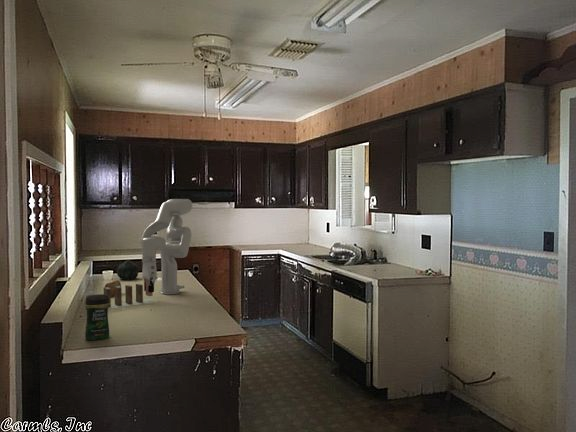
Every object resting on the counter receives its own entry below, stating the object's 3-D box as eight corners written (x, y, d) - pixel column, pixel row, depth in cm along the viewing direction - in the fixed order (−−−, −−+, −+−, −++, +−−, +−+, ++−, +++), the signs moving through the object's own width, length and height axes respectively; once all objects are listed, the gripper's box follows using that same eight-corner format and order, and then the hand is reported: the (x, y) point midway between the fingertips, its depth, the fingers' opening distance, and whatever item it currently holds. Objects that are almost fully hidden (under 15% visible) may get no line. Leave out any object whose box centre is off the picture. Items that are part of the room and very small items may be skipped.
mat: (150, 299, 286) (150, 298, 286) (158, 302, 277) (158, 301, 277) (94, 306, 266) (94, 305, 266) (101, 310, 257) (101, 309, 257)
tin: (108, 297, 290) (108, 283, 289) (103, 297, 290) (103, 283, 290) (121, 293, 304) (121, 279, 304) (117, 292, 305) (116, 279, 305)
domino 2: (118, 303, 271) (118, 286, 270) (121, 305, 267) (121, 287, 267) (114, 304, 270) (114, 286, 269) (118, 306, 266) (117, 287, 265)
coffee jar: (86, 342, 202) (85, 297, 201) (84, 337, 209) (83, 294, 208) (111, 339, 206) (110, 295, 205) (108, 334, 213) (107, 292, 212)
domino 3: (129, 302, 275) (128, 284, 274) (132, 303, 271) (132, 286, 270) (125, 302, 273) (125, 285, 273) (128, 304, 269) (128, 286, 269)
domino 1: (107, 305, 267) (107, 287, 267) (110, 307, 263) (110, 288, 263) (103, 305, 266) (103, 287, 265) (106, 307, 262) (106, 289, 261)
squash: (125, 269, 365) (119, 256, 355) (144, 270, 362) (137, 257, 352) (117, 284, 355) (110, 271, 345) (136, 286, 352) (130, 272, 342)
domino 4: (139, 301, 278) (139, 283, 278) (142, 302, 275) (142, 284, 274) (135, 301, 277) (135, 283, 277) (139, 302, 273) (139, 285, 273)
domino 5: (148, 294, 282) (148, 277, 281) (152, 295, 278) (152, 278, 278) (145, 294, 280) (145, 277, 280) (149, 296, 276) (149, 278, 276)
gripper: (161, 260, 274) (161, 292, 275) (149, 257, 288) (149, 288, 288) (148, 261, 270) (149, 294, 270) (136, 258, 283) (136, 290, 283)
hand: (149, 291), depth 279 cm, fingers closed on domino 5, 4 cm apart
